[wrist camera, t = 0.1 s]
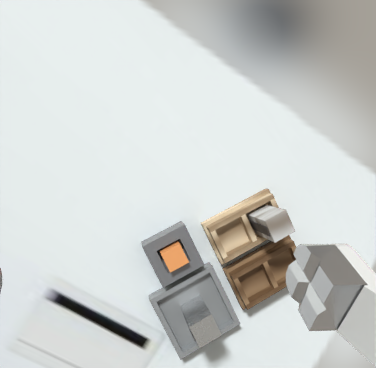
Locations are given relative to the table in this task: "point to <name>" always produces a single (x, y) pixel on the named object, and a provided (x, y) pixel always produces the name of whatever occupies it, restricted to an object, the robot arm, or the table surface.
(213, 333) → the block
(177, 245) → the button
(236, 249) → the tray
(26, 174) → the table surface
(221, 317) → the tray
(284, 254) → the pallet
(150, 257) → the button console
